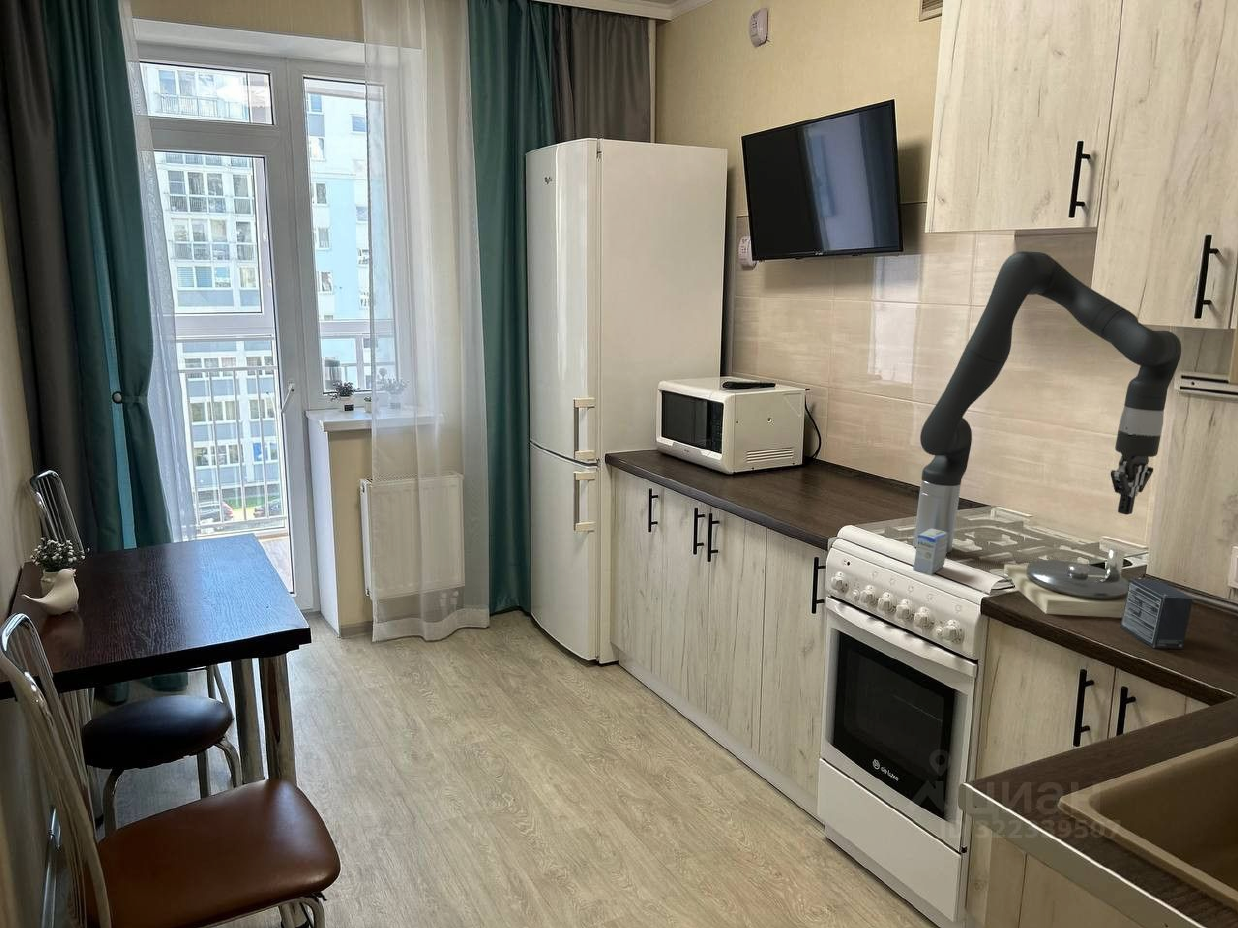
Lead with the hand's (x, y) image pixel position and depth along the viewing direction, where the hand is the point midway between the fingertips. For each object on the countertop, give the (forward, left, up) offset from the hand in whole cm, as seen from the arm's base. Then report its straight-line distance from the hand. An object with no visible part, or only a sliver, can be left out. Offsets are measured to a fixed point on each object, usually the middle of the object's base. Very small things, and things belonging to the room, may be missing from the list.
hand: (1124, 513), depth 186 cm
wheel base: (-6, -4, -21) cm, 22 cm away
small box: (+15, +1, -21) cm, 26 cm away
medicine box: (-20, -31, -21) cm, 43 cm away
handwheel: (-6, -4, -17) cm, 19 cm away
